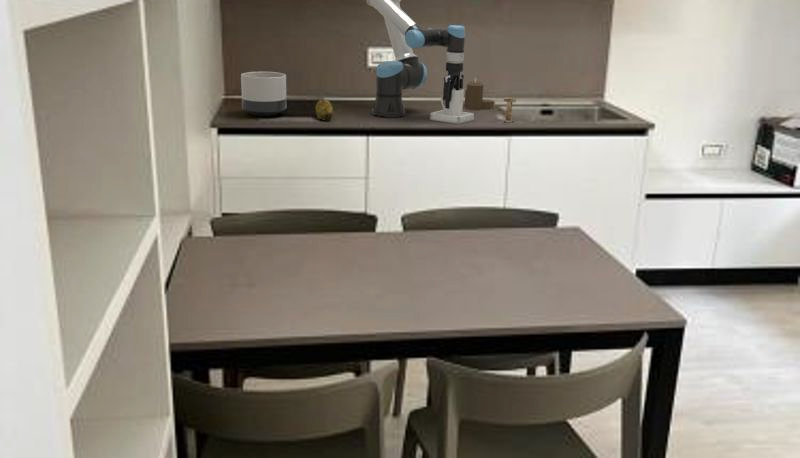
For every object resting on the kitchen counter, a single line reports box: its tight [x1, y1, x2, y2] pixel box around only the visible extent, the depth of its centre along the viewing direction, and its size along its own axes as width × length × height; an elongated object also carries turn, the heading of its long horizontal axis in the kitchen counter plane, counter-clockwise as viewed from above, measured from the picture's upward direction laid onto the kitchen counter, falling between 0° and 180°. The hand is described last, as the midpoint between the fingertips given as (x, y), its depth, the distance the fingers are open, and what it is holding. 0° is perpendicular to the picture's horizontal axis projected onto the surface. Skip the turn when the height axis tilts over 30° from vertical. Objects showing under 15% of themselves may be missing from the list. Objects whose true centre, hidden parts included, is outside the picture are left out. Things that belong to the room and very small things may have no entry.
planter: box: [240, 71, 287, 117], centre depth 345 cm, size 19×19×18 cm
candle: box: [464, 77, 495, 111], centre depth 380 cm, size 14×14×15 cm
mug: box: [440, 87, 465, 117], centre depth 348 cm, size 10×7×12 cm, turn 78°
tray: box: [429, 109, 475, 125], centre depth 350 cm, size 15×13×3 cm
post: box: [503, 97, 517, 122], centre depth 350 cm, size 5×4×10 cm
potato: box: [315, 99, 334, 121], centre depth 342 cm, size 8×13×8 cm, turn 179°
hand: (451, 114), depth 350 cm, fingers closed on mug, 6 cm apart
